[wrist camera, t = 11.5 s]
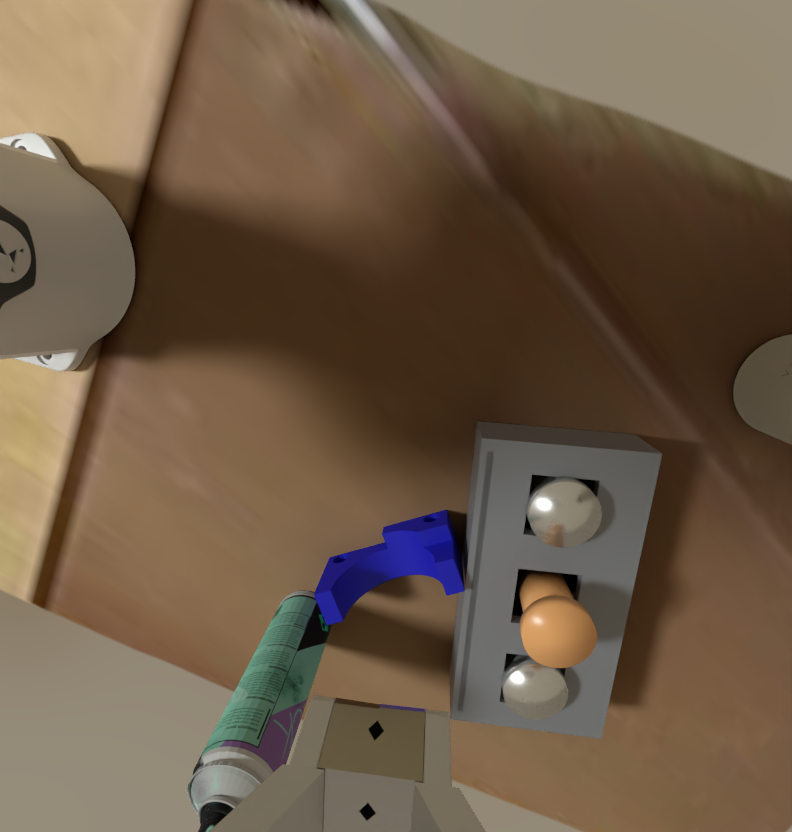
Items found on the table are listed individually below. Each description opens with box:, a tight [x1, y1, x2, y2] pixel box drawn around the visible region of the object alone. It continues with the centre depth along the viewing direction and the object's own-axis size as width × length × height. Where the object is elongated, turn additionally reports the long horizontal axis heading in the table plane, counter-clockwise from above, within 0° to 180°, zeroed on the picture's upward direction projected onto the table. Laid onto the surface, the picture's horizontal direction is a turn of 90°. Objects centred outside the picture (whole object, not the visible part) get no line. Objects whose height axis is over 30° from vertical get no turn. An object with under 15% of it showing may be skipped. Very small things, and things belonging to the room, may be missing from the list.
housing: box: [449, 421, 662, 739], centre depth 40 cm, size 13×26×5 cm, turn 176°
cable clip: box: [314, 510, 465, 625], centre depth 41 cm, size 12×4×6 cm, turn 109°
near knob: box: [526, 475, 602, 548], centre depth 38 cm, size 5×5×6 cm
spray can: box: [188, 591, 332, 832], centre depth 37 cm, size 6×6×20 cm
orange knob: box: [518, 570, 597, 668], centre depth 37 cm, size 5×5×6 cm
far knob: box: [502, 653, 568, 720], centre depth 42 cm, size 5×5×6 cm
